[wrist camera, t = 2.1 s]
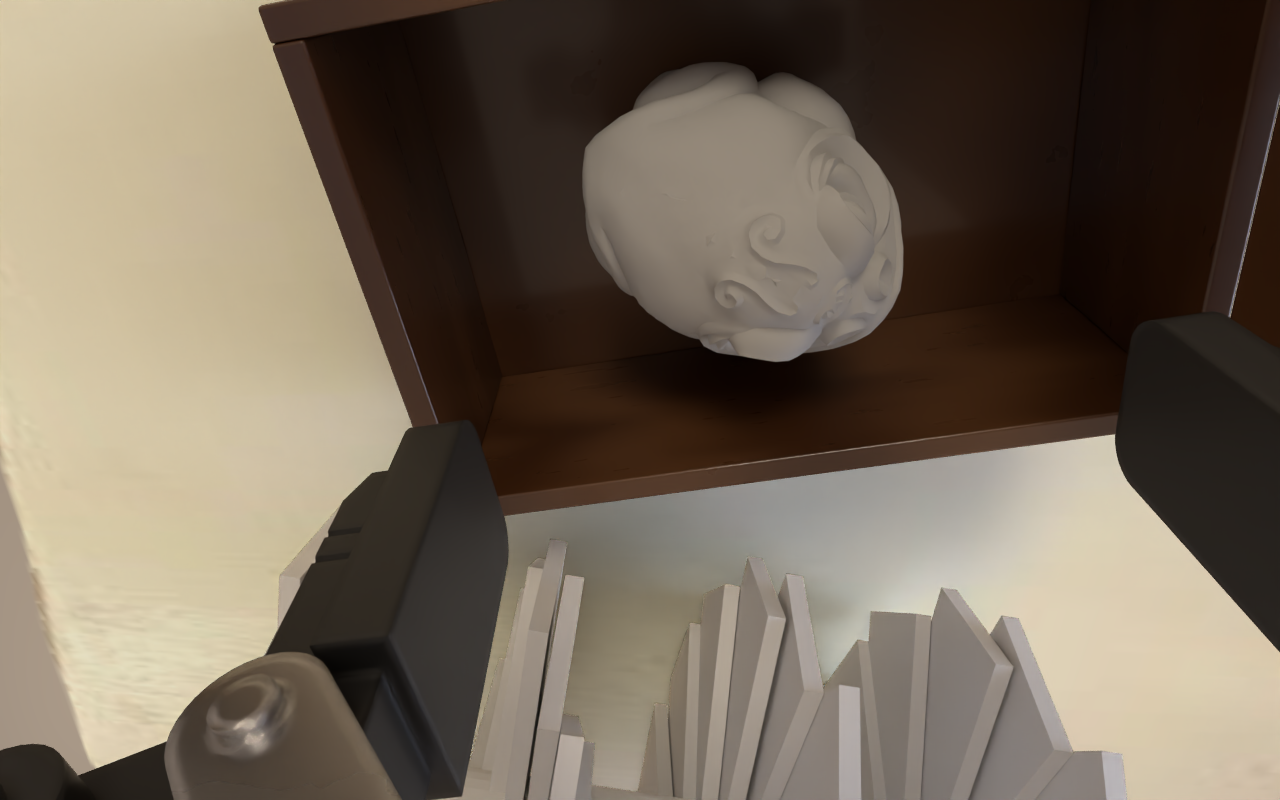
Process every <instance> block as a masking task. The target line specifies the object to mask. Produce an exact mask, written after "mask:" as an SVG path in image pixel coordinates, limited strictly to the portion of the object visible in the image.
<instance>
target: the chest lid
mask: <svg viewBox="0 0 1280 800" xmlns="http://www.w3.org/2000/svg"><path fill="white" fill-rule="evenodd" d="M1230 318H1231V319H1232V320H1234V321H1235V322H1237V323H1239V324H1240V325H1242V326H1243V327H1245V328H1246V329H1248V330H1249V331H1251V332H1252V333H1254V334H1255V335H1257V336H1258V337H1260V338H1261V339H1263V340H1265V341H1266V342H1268V343H1269V344H1271V345H1273V346H1276V347H1278V348H1280V105H1279V109H1278V114H1277V118H1276V122H1275V127H1274V131H1273V135H1272V140H1271V144H1270V148H1269V153H1268V157H1267V161H1266V166H1265V170H1264V174H1263V179H1262V183H1261V187H1260V192H1259V196H1258V200H1257V205H1256V209H1255V213H1254V218H1253V222H1252V226H1251V231H1250V235H1249V239H1248V244H1247V248H1246V252H1245V257H1244V261H1243V265H1242V270H1241V274H1240V278H1239V283H1238V287H1237V291H1236V296H1235V300H1234V304H1233V309H1232V313H1231V317H1230Z"/></svg>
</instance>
